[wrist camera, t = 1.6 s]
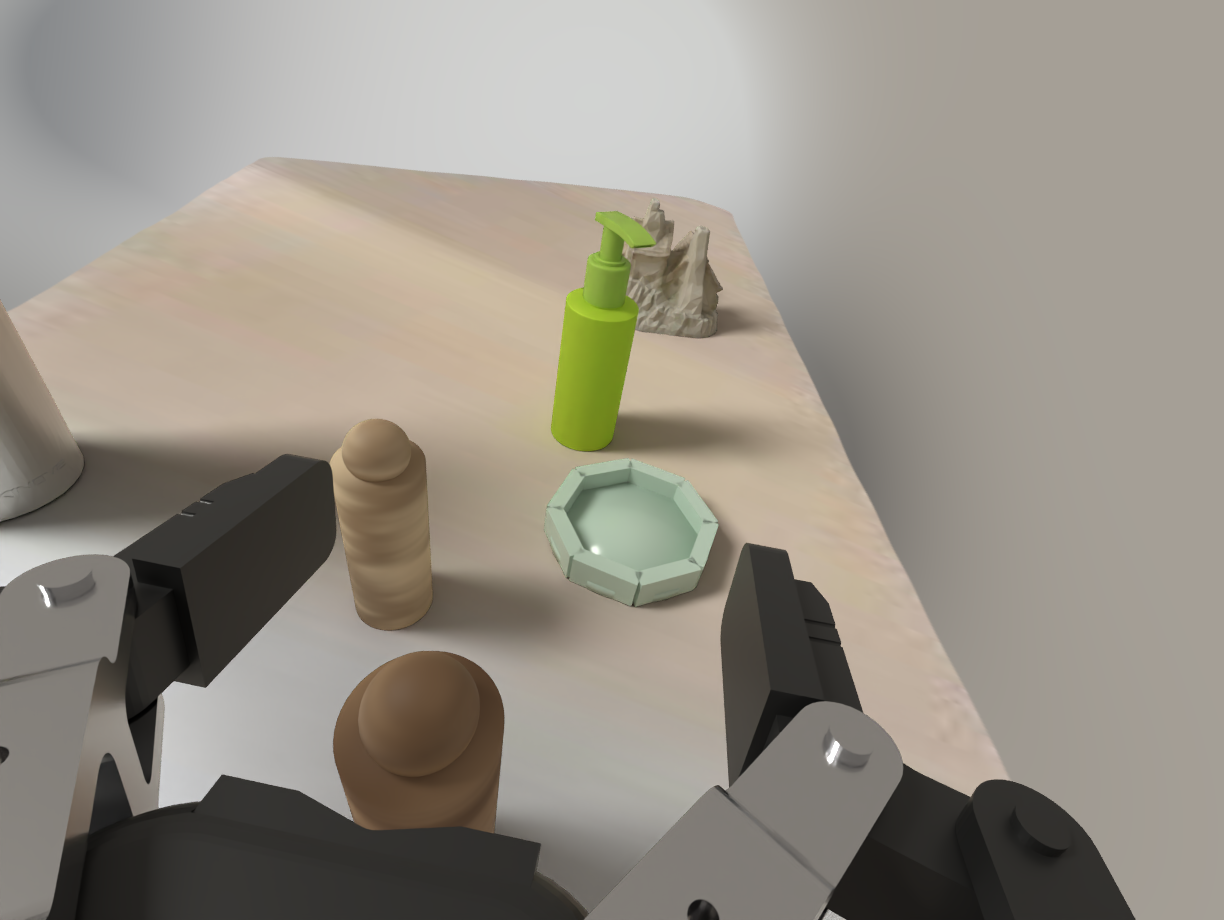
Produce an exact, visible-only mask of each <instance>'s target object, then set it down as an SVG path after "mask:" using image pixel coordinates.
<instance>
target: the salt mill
mask: <svg viewBox="0 0 1224 920" xmlns="http://www.w3.org/2000/svg"><path fill="white" fill-rule="evenodd" d="M329 465H330V466H331V469H332V474H333V487H334V497H335V502H336V507H337V512H338V517H339V523H340V528H341V533H342V538H343V543H344V549H345V554H346V559H347V564H348V569H349V575H350V580H351V585H352V590H353V595H354V601H355V606H356V610H357V613H358V615H359V617H360V618H361V620H362V621H363V622H365V623H366V624H367V625H369V626H371V627H373V628H376V629H380V630H397V629H402V628H405V627H408V626H410V625H412V624H414V623H416V622H417V621H418V620H420V619H421V618H422V617H423V616H424V615H425V614H426V613H427V611H428V610H429V608H430V606H431V603H432V599H433V591H432V572H431V553H430V535H429V516H428V497H427V479H426V460H425V455H424V453H423V451H422V450H421V449H420V447H419V446H418V445H416V444H415V443H413V442H412V441H410V440H409V439H408V437H407V435H406V434H405V432H404V431H403V430H402V429H401V428H400V427H399V426H397V425H396V424H394V423H392V422H390V421H387V420H383V419H369V420H365V421H363V422H360V423H358V424H357V425H355V426H354V427H353V428H352V429H351V430H350V431H349V432H348V433H347V435H346V436H345V438H344V441H343V444H342V447H340V448H339V449H338V450H337V451H336V452H335V454H334V455H333V456H332V458H331V461H330V464H329Z"/></svg>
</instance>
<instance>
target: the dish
mask: <svg viewBox="0 0 1224 920" xmlns="http://www.w3.org/2000/svg"><path fill="white" fill-rule="evenodd" d="M717 523H718V520H717V519H716V518H715V516H714V515H713V514H712V512H711V511H710V509H709V508H708V507H707V505H706V504H705V503H704V501H703V500H702V499H701V497H700V496H699V494H698V493H697V492H696V490H695V489H694V488H693V486H692V485H691V483H690V482H689V481H685V478H683V477H680V476H678V475H675V474H672V473H670V472H667V471H664V470H662V469H659V468H656V467H654V466H651V465H648V464H645V463H643V462H640V461H637V460H635V459H631V461H630V460H629V459H628V458H626V459H620V460H614V461H608V462H602V463H596V464H591V465H585V466H579V467H575V469H572V470H571V472H570V473H569V475H568V476H567V478H566V479H565V480H564V482H563V483H562V485H561V486H560V488H559V489H558V490H557V492H556V493H555V495H554V496H553V497H552V499H551V500H550V502H549V503H548V505H547V510H546V517H545V525H544V531H545V533H546V535H547V538H548V540H549V542H550V546H551V548H552V551H553V554H554V555H555V557H556V559H557V561H558V562H559V564H560V566H561V568H562V570H563V573H564V575H565V577H566V578H567V577H569V581H571V582H574V583H576V584H578V585H581V586H583V587H585V588H587V589H589V590H591V591H593V592H595V593H597V594H599V595H602V596H605V597H608V598H611V599H614V600H617V601H619V602H621V603H624V604H626V605H629V606H631V605H632V603H634V605H635V607H637V606H640V605H644V604H647V603H651V602H656V601H661V600H666V599H668V598H671V597H674V596H676V595H679V594H682V593H686V592H689V591H693V589H694V588H696V586H697V584H698V581H699V579H700V576H701V574H702V571H703V569H704V567H705V564H706V562H707V559H708V555H709V551H710V548H711V546H712V543H713V540H714V537H715V534H716V531H717V528H718V525H719V524H717Z"/></svg>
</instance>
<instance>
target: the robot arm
mask: <svg viewBox="0 0 1224 920" xmlns="http://www.w3.org/2000/svg"><path fill="white" fill-rule="evenodd" d="M83 467H84V457H83V455H82V453H81V451H80V449H79V447H78V446H77V444H76V442H75V440H74V438H73V436H72V434H71V432H70V430H69V428H68V427H67V425H66V423H65V421H64V419H63V417H62V415H61V413H60V411H59V409H58V407H57V405H56V403H55V401H54V399H53V398H52V396H51V394H50V392H49V390H48V388H47V386H46V384H45V383H44V381H43V379H42V377H41V375H40V373H39V371H38V370H37V368H36V366H35V364H34V362H33V360H32V358H31V356H30V355H29V353H28V351H27V349H26V347H25V345H24V343H23V341H22V340H21V338H20V336H19V334H18V332H17V330H16V328H15V326H14V325H13V323H12V321H11V319H10V317H9V315H8V313H7V312H6V310H5V308H4V306H3V304H2V302H1V301H0V521H4V520H7V519H11V518H14V517H17V516H20V515H23V514H25V513H28V512H30V511H33V510H35V509H37V508H39V507H41V506H43V505H45V504H47V503H49V502H51V501H52V500H54V499H55V498H57V497H58V496H60V495H61V494H63V493H64V492H65V491H66V490H67V489H69V488H70V487H71V486H72V485H73V484H74V483H75V482H76V480H77V479H78V477H79V476H80V475H81V472H82V470H83ZM335 538H336V517H335V502H334V487H333V474H332V469H331V466H330V465H329V463H328V462H326V461H323V460H317V459H312V458H307V457H302V456H296V455H291V454H284V455H282V456H280V457H278V458H277V459H276V460H274V461H273V462H271V463H270V464H268V465H267V466H265V467H264V468H262V469H261V470H260V471H258V472H257V473H255V474H254V473H252V474H249V475H246V476H243V477H241V478H238V479H235V480H232V481H230V482H227V483H224V484H222V485H220V486H219V487H217V488H216V489H214V490H213V491H211V492H210V493H208V494H207V495H205V496H204V497H202V498H201V499H200V502H195V503H193V504H192V505H190V506H189V507H187V508H186V509H184V510H183V511H182V513H181V515H179V514H177V515H175V516H174V517H172V518H170V519H169V520H167V521H166V522H164V523H163V524H161V525H160V526H158V527H157V528H155V529H154V530H152V531H151V532H149V533H148V534H146V535H145V536H143V537H142V538H140V539H139V540H137V541H136V542H134V543H133V544H131V545H130V546H128V547H127V548H125V549H124V550H122V551H121V552H119V553H118V554H116V555H115V556H108V555H96V554H95V555H79V556H72V557H67V558H62V559H59V560H55V561H51V562H48V563H45V564H42V565H40V566H38V567H35V568H33V569H31V570H29V571H27V572H25V573H23V574H21V575H20V576H18V577H17V578H15V579H14V580H13V581H11V582H10V583H9V584H8V585H7V586H6V587H0V920H823V919H824V917H825V916H826V914H827V912H828V911H829V910H831V911H832V912H834V913H836V914H838V915H839V916H841V917H843V918H845V919H846V920H1135V918H1134V916H1133V914H1132V912H1131V910H1130V908H1129V907H1128V905H1127V903H1126V901H1125V899H1124V897H1123V896H1122V894H1121V892H1120V890H1119V888H1118V886H1117V885H1116V883H1115V881H1114V879H1113V877H1112V875H1111V874H1110V872H1109V870H1108V868H1107V866H1106V864H1105V862H1104V861H1103V859H1102V857H1101V855H1100V853H1099V851H1098V850H1097V848H1096V846H1095V845H1094V843H1093V841H1092V840H1091V838H1090V837H1089V836H1088V835H1087V833H1086V832H1085V831H1084V829H1083V828H1082V827H1081V826H1080V825H1079V824H1078V823H1077V822H1076V821H1075V820H1074V819H1073V818H1072V817H1071V816H1070V815H1069V814H1068V813H1067V812H1066V811H1065V810H1063V809H1062V808H1061V807H1060V806H1058V805H1057V804H1056V803H1054V802H1053V801H1052V800H1050V799H1048V798H1047V797H1045V796H1044V795H1042V794H1040V793H1039V792H1037V791H1035V790H1033V789H1031V788H1029V787H1026V786H1024V785H1022V784H1019V783H1015V782H1012V781H1007V780H989V781H986V782H983V783H981V784H980V785H979V786H978V787H977V788H976V790H975V791H974V793H973V794H972V796H971V797H969V796H967V795H965V794H963V793H961V792H958V791H956V790H954V789H952V788H950V787H948V786H946V785H944V784H942V783H939V782H937V781H935V780H933V779H931V778H929V777H927V776H925V775H923V774H921V773H919V772H917V771H915V770H913V769H912V768H910V767H909V766H907V765H905V764H904V763H903V762H902V758H901V755H900V752H899V750H898V748H897V746H896V744H895V743H894V741H893V740H892V738H891V737H890V736H889V734H888V733H887V732H886V731H885V730H884V729H883V728H882V727H881V726H880V725H879V724H878V723H877V722H875V721H874V720H873V719H871V718H870V717H869V716H867V715H865V714H864V713H863V711H862V707H861V704H860V701H859V698H858V695H857V692H856V688H855V685H854V682H853V679H852V676H851V673H850V669H849V666H848V663H847V660H846V657H845V654H844V650H843V647H841V641H840V638H839V635H838V631H837V629H835V622H834V619H833V616H832V612H831V609H830V606H829V603H828V602H827V601H826V600H825V598H824V597H823V596H822V595H821V594H820V592H819V591H818V590H817V589H816V588H815V586H814V585H813V584H812V583H811V582H806V581H801V580H795V579H794V576H793V572H792V568H791V564H790V560H789V556H788V553H787V551H786V550H782V549H777V548H771V547H766V546H761V545H756V544H750V543H746V544H745V545H744V546H743V548H742V551H741V554H740V557H739V561H738V564H737V568H736V571H735V574H734V578H733V581H732V585H731V588H730V591H729V595H728V598H727V602H726V605H725V609H724V613H723V618H722V625H721V657H722V674H723V691H724V707H725V724H726V741H727V758H728V775H729V789H727V790H726V791H725V790H724V789H723V788H722V787H720V786H719V785H717V786H714V787H713V788H711V789H710V790H708V791H707V792H706V793H705V794H704V795H703V796H702V797H701V798H700V799H699V800H698V801H697V802H696V803H695V804H694V805H693V806H692V807H691V808H690V809H689V810H688V811H687V812H686V813H685V815H684V816H683V817H682V818H681V819H680V820H679V821H678V822H677V823H676V824H675V825H674V826H673V827H672V828H671V829H670V830H669V831H668V832H667V833H666V834H665V835H664V836H663V837H662V839H661V840H660V841H659V842H658V843H657V844H656V845H655V846H654V847H653V848H652V849H651V850H650V851H649V852H648V853H647V854H646V855H645V856H644V857H643V858H642V859H641V860H640V861H639V863H638V864H637V865H636V866H635V867H634V868H633V869H632V870H631V871H630V872H629V873H628V874H627V875H626V876H625V877H624V878H623V879H622V880H621V881H620V882H619V883H618V884H617V885H616V887H615V888H614V889H613V890H612V891H611V892H610V893H609V894H608V895H607V896H606V897H605V898H604V899H603V900H602V901H601V902H600V903H599V904H598V905H597V906H596V907H595V908H594V909H593V911H592V912H591V913H590V914H589V913H588V912H587V911H586V909H585V908H584V907H583V906H582V905H581V904H580V903H579V902H578V901H577V900H576V899H575V898H574V897H573V896H572V895H571V894H570V893H569V892H567V891H566V890H565V889H563V888H562V887H561V886H559V885H558V884H557V883H555V882H554V881H553V880H551V879H549V878H547V877H546V876H544V875H542V874H540V873H539V872H537V865H538V859H539V852H540V846H541V844H540V843H536V842H531V841H526V840H522V839H517V838H513V837H508V836H503V835H499V834H494V833H490V832H485V831H480V830H476V829H471V828H467V827H462V826H457V827H436V828H415V829H394V830H370V829H366V828H364V827H361V826H360V825H358V824H356V823H354V822H353V821H351V820H349V819H347V818H345V817H344V816H342V815H340V814H338V813H337V812H335V811H333V810H331V809H330V808H328V807H326V806H324V805H323V804H321V803H319V802H317V801H316V800H314V799H312V798H310V797H308V796H307V795H305V794H303V793H301V792H300V791H296V790H291V789H287V788H282V787H278V786H273V785H268V784H264V783H259V782H255V781H250V780H245V779H241V778H236V777H232V776H227V775H221V777H220V778H219V779H218V780H217V782H216V783H215V784H214V786H213V787H212V788H211V789H210V791H209V792H208V793H207V794H206V796H205V797H204V798H203V800H202V801H201V802H190V803H184V804H177V805H171V806H167V807H163V808H159V809H158V799H159V784H160V769H161V755H162V740H163V726H164V711H165V705H164V699H163V695H162V692H163V691H164V690H165V689H166V688H167V687H168V686H169V685H170V684H171V683H172V682H173V681H176V682H181V683H186V684H191V685H195V686H200V687H205V688H206V687H207V686H208V685H209V684H210V683H211V682H212V680H213V679H214V678H215V677H216V676H217V675H218V674H219V673H220V672H221V671H222V670H223V669H224V668H225V667H226V666H227V665H228V664H229V663H230V661H231V660H232V659H233V658H234V657H235V656H236V655H237V654H238V653H239V652H240V651H241V650H242V649H243V648H244V647H245V646H246V645H247V643H248V642H249V641H250V640H251V639H252V638H253V637H254V636H255V635H256V634H257V633H258V632H259V631H260V630H261V629H262V628H263V627H264V626H265V624H266V623H267V622H268V621H269V620H270V619H271V618H272V617H273V616H274V615H275V614H276V613H277V612H278V611H279V610H280V609H281V608H282V607H283V605H284V604H285V603H286V602H287V601H288V600H289V599H290V598H291V597H292V596H293V595H294V594H295V593H296V592H297V591H298V590H299V589H300V588H301V586H302V585H303V584H304V583H305V582H306V581H307V580H308V579H309V578H310V577H311V576H312V575H313V574H314V573H315V572H316V571H317V570H318V568H319V567H320V566H321V565H322V564H323V563H324V562H325V561H326V560H327V558H328V557H329V555H330V553H331V551H332V549H333V546H334V543H335Z"/></svg>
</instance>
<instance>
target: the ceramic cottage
mask: <svg viewBox="0 0 1224 920" xmlns="http://www.w3.org/2000/svg"><path fill="white" fill-rule="evenodd" d="M659 207H660V202H659V200H657V199H655V198H653V199H651V202H650V205H649V207H648V210H647V212H646V215H645V218H643V219H641V218H638V217H635V216H634V217H633V218H631V219H633V220H635V221H636V222H637V223H639V224H640V225H641V226H642V227H643V228H644V229H645V230H646V231H647V232H648V233H649V234H650V235H651V237H652V238H653V239H654V241H655V242H656V245H655V246H653V247H646V248H634V249H632V248H630V247H629V245H628V244H627V243H626V242H625V241H624V247H623V252H622V255H623V256H624V257H625V258H626V259H627V260H628V261H629V262H630V263H631V270H630V276H629V281H628V286H627V292H626V296H628V297H630V298H631V299H632V300H634V301H635V302H636V304H637V305H638V308H639V312H638V317H637V322H636V327H635V330H637V331H642V332H649V333H660V334H666V335H672V336H681V337H690V338H705V337H710V336H711V335H713V334H714V333H715V331H717V315H718V313H717V312H716V307H717V304H718V295H717V294H716V293H717V292H719V291H721V290H723V288H722V287H721V286H720V283H719V282H718V280H717V278H716V276H715V274H714V272H713V270H712V269H711V267H710V265H709V264H708V262H709V260H708V258H707V250H708V243H709V235H710V231H709V229H708V228H706V227H703V226H698V227H697V228H696V229H695V232H694V233H693V232H692V231H690V232H688V234H687V235H686V236H685V237H684V238H683V239H682V240H681V241H680V242H679V243H678V244H677V245H676V246H675V248H674V249H673V250H672V251H671V244H672V240H673V231H674V221H665V216H664V211H663V210H660V209H659Z"/></svg>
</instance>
